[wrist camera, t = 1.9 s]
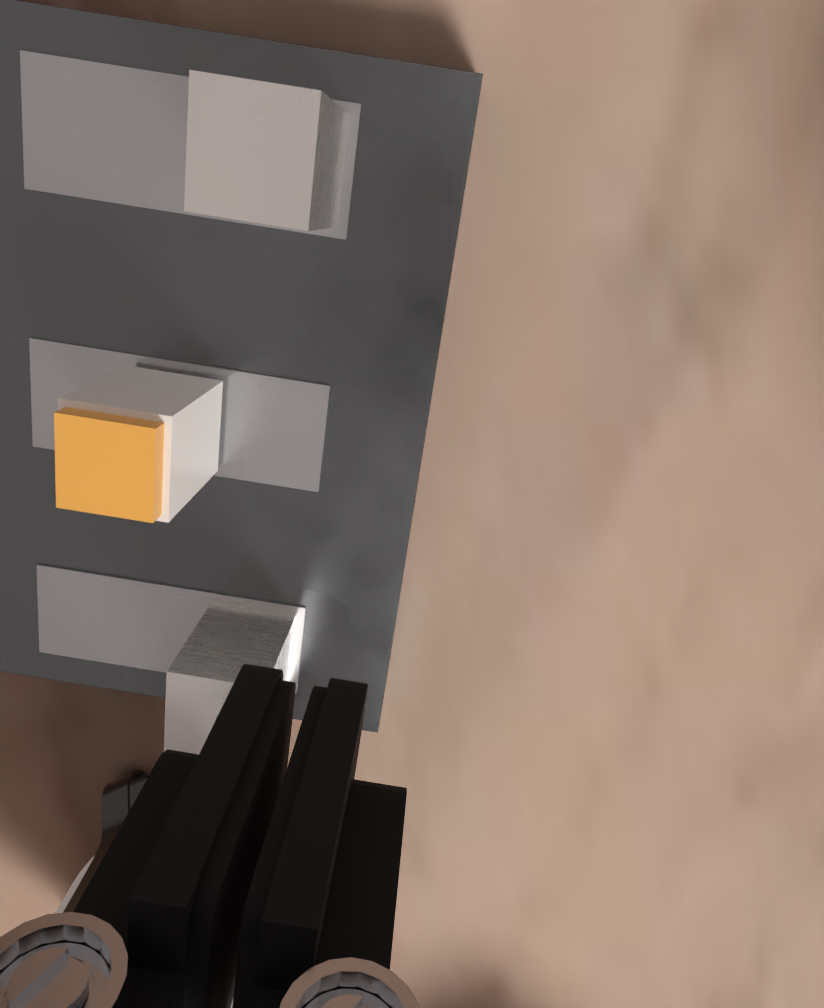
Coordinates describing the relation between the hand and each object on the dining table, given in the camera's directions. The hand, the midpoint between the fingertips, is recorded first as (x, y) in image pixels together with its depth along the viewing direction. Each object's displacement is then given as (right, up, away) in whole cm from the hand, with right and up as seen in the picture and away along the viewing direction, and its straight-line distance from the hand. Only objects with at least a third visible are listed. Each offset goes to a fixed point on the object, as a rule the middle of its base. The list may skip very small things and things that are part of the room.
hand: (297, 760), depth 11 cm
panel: (-6, +7, +16) cm, 18 cm away
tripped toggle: (-6, +6, +14) cm, 16 cm away
